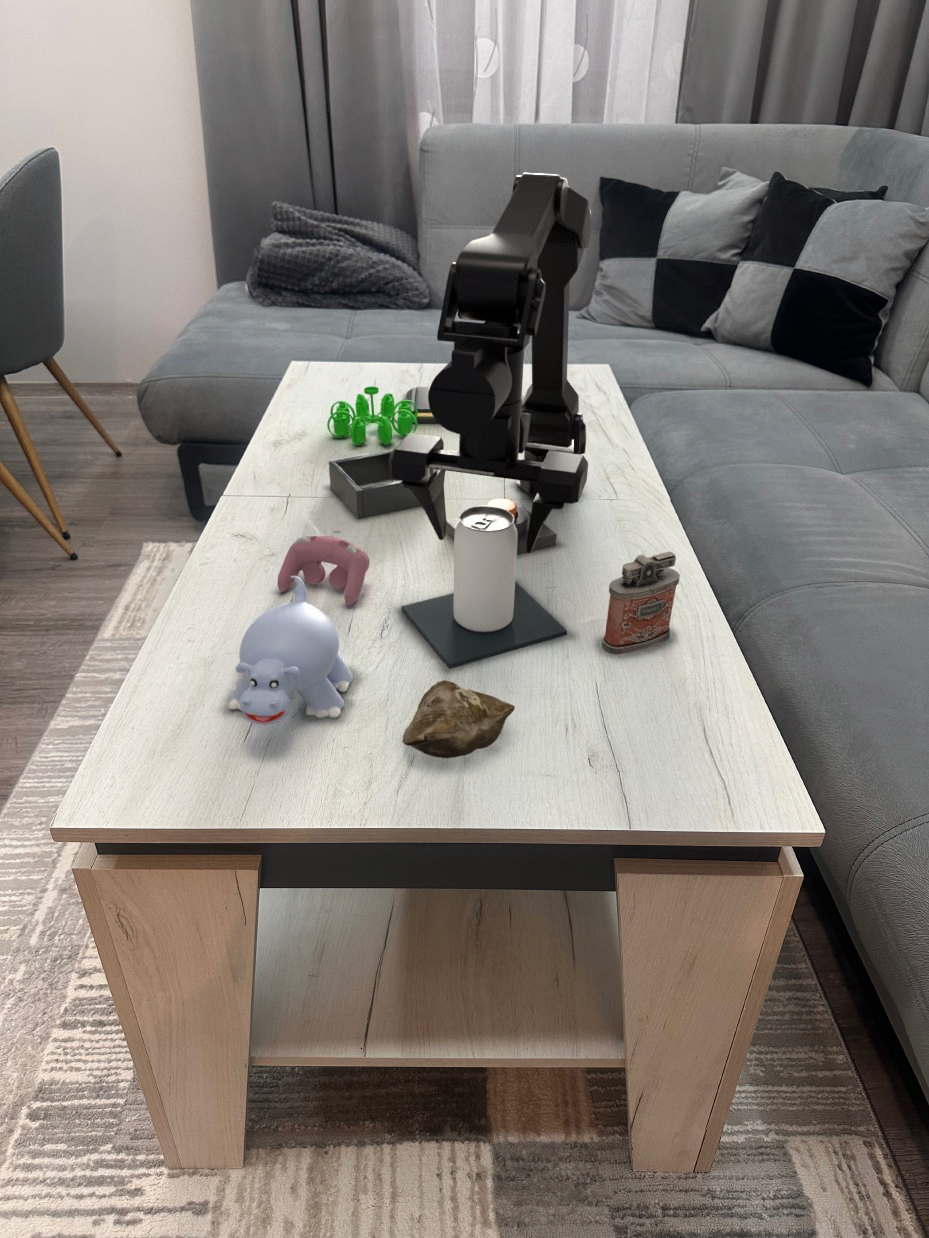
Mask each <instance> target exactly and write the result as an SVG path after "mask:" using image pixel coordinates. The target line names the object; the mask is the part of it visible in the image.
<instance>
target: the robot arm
mask: <svg viewBox="0 0 929 1238" xmlns="http://www.w3.org/2000/svg"><path fill="white" fill-rule="evenodd" d="M590 207H591V206H590V203H589V200H588V199H587V198H585V197H584V196H583V195H582V194H579V192H576V191H575V190H574V189H572V188H571V187H570V186H569V183H568V179H567V178H566V177H562V176H561V175H560V174H555V173H535V172H532V173H531V172H523V173H522V174H519V175H518V174H517V175H516V176H515V177H514V180H513V186H512V193H511V194H510V198H509V200H508V201H507V203H506V206H505V207H504V209H503V211H502V212H501V214H500V217H499V218H498V220H497V221H496V223H495V225H494V227H493V230H492V231H491V233H490V234H489V235H487V236H484V237H480V238H478V239H473V240H471V241H470V242H469V243H468V244H467V245H466V246H465V247H464V248H463V249H462V250H461V251H460V252H459V254H458V255H457V258H456V260H455V262H452V263H451V265H450V267H449V270H448V275H447V280H446V285H445V291H444V297H443V300H442V307H441V312H440V318H439V324H438V327H437V335H436V339H437V341H438V342H449V343H453V350H452V351H451V360H450V361H449V362H448V363H447V364H446V365H445V366H444V367H443V368H442V369H441V370H440V371H439V373H437V374H436V375H435V377H434V378H433V380H432V381H431V384H430V386H429V387H430V389H429V392H428V402H429V407H430V410H431V412H432V415H433V416H434V418H435V419H436V421H437V422H438V423H439V425H440V426H441V427H442V428H444V429H445V430H447V431H448V432H450V433H453V434H456V435H458V437H459V439H458V451H455V450H448V449H445V442H444V440H443V438H442V437H441V436H435V435H426V434H417V433H413V434H411V433H412V432H410V433H409V434H408V435H407V436H404V438H403V439H402V440H400V442H399V443H398V444H397V445H396V446H395V447H394V448H393V449H392V450H393V451H392V450H391V451H392V452H391V453H390V457H389V477H390V478H392V479H391V480H396V481H400V480H402V487H403V488H406V489H410V490H411V491H412V493H413V494H414V496H415V497H416V499H417V500H418V502H419V503H420V505H421V506H420V507H421V508H422V509H423V511H424V513H425V515H426V516H427V518H428V521H429V523H430V524H431V526H432V528H433V530H434V532H435V535H436V536H437V539H438V540H440V541H444V539H445V538H446V536H447V533H446V521H447V510H446V509H447V508H446V497H445V496H446V495H445V477H446V471H447V472H454V473H462V474H470V475H477V476H484V477H493V478H498V479H508V480H514V481H516V486H517V487H519V488H520V489H521V490H522V491H524V492H525V493H526V494H528V495H529V496H530V497H531V498H533V500H532V504H531V511H530V513H531V516H530V522H529V528H528V535H527V541H526V554H531V553H532V552H533V551H532V549H533V546H534V544H535V541H536V539H537V537H538V534H539V532H540V530H541V527H542V525H543V523H544V524H545V522H546V520H547V519H548V517H549V516H550V514H551V513H552V511H553V510H559V511H560V510H562V509H564V508H565V507H566V504H575V503H576V504H577V503H579V501H580V498H581V495H582V493H583V491H584V488H585V485H586V483H587V482H588V471H589V461H588V460H587V459H586V457H585V455H584V454H586V447H587V446H586V445H587V425H586V423H585V422H584V415H583V412H580V411H579V410H580V401H579V399H580V398H579V394H578V392H577V391H576V390H575V388H574V387H573V385H572V384H571V383H570V381H569V380H568V358H569V357H568V352H569V322H570V321H569V320H570V319H569V318H570V284H571V283H570V281H571V280H572V279H573V278H574V276H575V274H576V273H577V272H578V269H579V266H580V263H581V262H582V258H583V255H584V252H585V250H588V248H589V245H590V241H591V240H590V239H591V234H592V212H591V208H590ZM456 317H458V318H459V319H460V320H456ZM462 320H465V321H462ZM466 320H467V321H466ZM469 320H470V321H469ZM472 321H473V322H472ZM474 321H476V322H474ZM478 321H479V322H478ZM530 339H531V384H530V385H529V387H528V388H527V390H526V392H525V395H524V397H523V399H522V396H523V395H522V394H523V378H524V376H523V375H524V362H525V361H524V359H525V349H526V347H527V346H528V345H529V343H530ZM438 423H437V424H438ZM519 454H522V455H523V458H522V459H519Z"/></svg>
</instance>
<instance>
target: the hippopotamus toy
mask: <svg viewBox="0 0 929 1238" xmlns="http://www.w3.org/2000/svg"><path fill="white" fill-rule="evenodd" d="M291 578H294V579H295V581H296V586H295V590H294V596H293V597H294V599H293V601H289V602H283V603H280V604H277V605H275V606H274V607H271V608H270V609H268V610H266V611H265V612H263V613H261V614H260V615H259V616H258V617H257V618H255V620H254V621H253V622H252V623H251V624H250V625H249V626H248V628H247V630H246V631H245V632H244V635H243V637H242V640H241V643H240V647H239V663H237V664H236V666H235V671H236V672H237V673H238V674H242V673H243V675H242V677H241V679H240V681H239V683H238V684H237V686H236V688H235V690H234V692H233V694H232V696H231V701H229V702H228V704H227V708H228V709H229V710H239V711H241V713H242V715H243V717H244V719H245V720H247V721H248V722H249V723H252V724H255V725H259V726H272V725H275V724H277V723H280V722H281V721H283V720H284V719H285V718H286V716H287V715H288V713H289V711H290V707H291V701H290V699H291V697H292V693H298V695H299V696H300V697H301V698H302V700H303V701H304V702H305V704H306V706H307V707H306V709H305V713H306V715H307V716H315V717H316V718H319V719H323V718H327V717H330V718H334V719H335V718H338V717H339V716H341V710H343V708H344V706H345V701H344V699H343V697H342V696H341V695H340V694H339V692H341V693H344V692H347V691H348V689H349V686H350V684H351V683H352V682H353V679H354V675H353V673H352V672H351V670H350V669H349V668H348V666H347V665H346V663H345V662H344V660H343V658H341V655H339V650H340V649H339V647H340V640H339V634H338V632H337V629H336V626H335V625H334V624H333V622H332V621H331V620H330V618H329V617H328V616H327V615H326V614H325V613H324V612H322V611H321V609H318V607H316V606H314V605H312V604H310V603H308V593H307V588H306V584H305V583H304V581H303V579H302V578H301V577H299V575H298V576H291ZM338 691H339V692H338Z"/></svg>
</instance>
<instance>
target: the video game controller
mask: <svg viewBox="0 0 929 1238" xmlns="http://www.w3.org/2000/svg"><path fill="white" fill-rule="evenodd" d="M323 563H327V564H330V565H335V566H336V567H335V568H334V569H332V570H331V571H330V572H329V575H328V584H329V585H330V586H331V587H332V588H334V589H336V590H343V589H344V590H343V591H344V592H343V595H344V596H343V599H344V602H345V604H346V605H347V606H352V605H354V603H356V601H357V600H358V598H359V596H360V594H361V592H362V589H363V586H364V581H365V578H366V574H367V572H368V570H369V567H370V557H369V555H368V553H367V552H365V550H363V549H362V548H360V547H357V546H356V545H355V544H354V543H351V542H350V541H348V540H345V539H342V538H340V537H335V536H330V535H309V536H308V535H307V536H303V537H300V538H297V539H296V540H295V541H294V542H293V543H292V544H291V545H290V546H289V549H288V551H287V552H286V555H285V557H284V559H283V562H282V565H281V567H280V569H279V573H278V575H277V588H278V590H279V591H280V592H282V593H283V592H286V591H288V590H289V589H290V588H291V586H292V585H293V584H294V582H295V581H296V579H294V578H291V576H298V577H299V574H300V571H301V572H302V574H303V577H304V579H305V581H306V582H307V583H308V584H310V585H311V584H312V585H314V584H321V583H323V582H324V580H325V579H326V569H325V566H324V565H323Z"/></svg>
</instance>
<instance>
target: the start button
mask: <svg viewBox="0 0 929 1238" xmlns="http://www.w3.org/2000/svg"><path fill="white" fill-rule="evenodd" d="M486 505H487V506H494V507H499V508H502V509H505V510H507V511H509V512H510V513H511V514H512V515H513V516H514V520H515V518H516V506H517V503H516V502H515V501H513V500H511V499H508V498H493V499H490V500H489V501H488V502H487V504H486Z"/></svg>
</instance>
